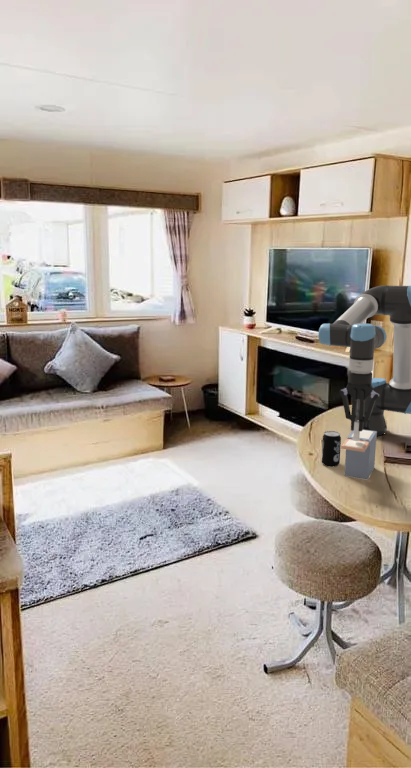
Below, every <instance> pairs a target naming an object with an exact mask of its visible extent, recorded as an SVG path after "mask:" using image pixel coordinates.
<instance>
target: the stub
mask: <svg viewBox="0 0 411 768" xmlns="http://www.w3.org/2000/svg"><path fill="white" fill-rule="evenodd" d="M368 446H369V442H367V441H360V440H358V441H353V439H347V438H346V439H345V440H344V442H343V443H342V444H341V447H340V450H341V449H342V450H346V449H347V450H354V451H360V452H365V450H366V449H367V447H368Z"/></svg>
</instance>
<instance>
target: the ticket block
mask: <svg viewBox="0 0 411 768" xmlns="http://www.w3.org/2000/svg"><path fill="white" fill-rule="evenodd" d="M353 435H354V430H353V431H352V430H351V432H350V433H349V434H348V436H347V437H346V439H353ZM359 440H360V441H367V442H369V446H368V447H367V449H366V450H365V452H360V451H354V450H347V449H345V461H344V462H345V463H344V476H345V477H350V478H355V479H361V480H367V481H368V480H369V479H370V476H371V474H372V473H373V471H374V469H375V464H376V463H375V462H376V449H377V431H370V430H362V431H360V437H359Z"/></svg>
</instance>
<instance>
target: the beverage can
mask: <svg viewBox="0 0 411 768" xmlns="http://www.w3.org/2000/svg"><path fill="white" fill-rule="evenodd" d="M321 443H322V445H321V463H322V465H324V466H326V467H330V468H331V467H333V466H334V467H337V466H339V464H340V462H341V461H340V460H341V446H342V444H341V443H342V437H341V433H340V432H339V431H335V430H327V431H324V432H323V435H322V441H321ZM334 467H333V468H334Z"/></svg>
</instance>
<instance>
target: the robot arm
mask: <svg viewBox="0 0 411 768" xmlns="http://www.w3.org/2000/svg"><path fill="white" fill-rule="evenodd" d="M375 315H376V316H377V315H380V316H381V315H383V316H389V321H390V323H391V324H393V348H392V349H393V352H392V354H393V356H392V358H393V359H392V361H393V363H392V365H393V367H392V369H393V370H392V376H393V377H392V378H391V379H390V380H389V382H388V383H387V380H386V378H382V377H373V372H372V371H373V370H374V355H375V354H374V353H375V350H376V349H378V348H379V349H380V348H381V347H382V346H383V345H384V344H385V343H386V340H387V332H386V330H385V329H384V328H383V327H381V326H379V325H375V324H372V323H365V321H366V320H367V319H368V318H371V317H374V316H375ZM317 336H318V341H319V343H320V344H321V345H326V346H329V347H330V346H334V347H346V348H349V349H350V350H349V361H348V362H349V363H348V370H349V372H348V377H347V385H346V387H344V388H342V389H340V390H339V392H338V393H339V395H340V396H341V400H342V404H343V410H344V414H345V415H344V416H345V419H346V420H350V430H351V432H352V431H353V430H354V435H353V441H358V440H359V437H360V431H362V430H370V431H377V436H383V435H382V434H384V433H386V434H387V430H388V429H387V428H388V426H387V422H386V418H385V414H384V413H385V411H387V412H393V413H394V412H395V413H399V414H400V413H401V414H404V415H407V414H409V415H411V285H387V284H384V285H378V286H374V287H372V288H369V289H367V290H365V291H363V292H362V293H360V294H359V295H358V296H357V297H356V298H355V299H354V301H353V304H352V305H351V306H350V307H349V308H348V309H347V310H346V311H344V313H343V314H341V315H340V316H339V317H338V318H337V319H336V320H335V321H334V322H333V323H329V322H328V323H322V324H321V325H320V327H319V328H318V335H317ZM348 394H349V396H350V397H351V398H352V399H351V407H350V402H349V399H348ZM350 408H351V409H350ZM384 435H385V434H384Z"/></svg>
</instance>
